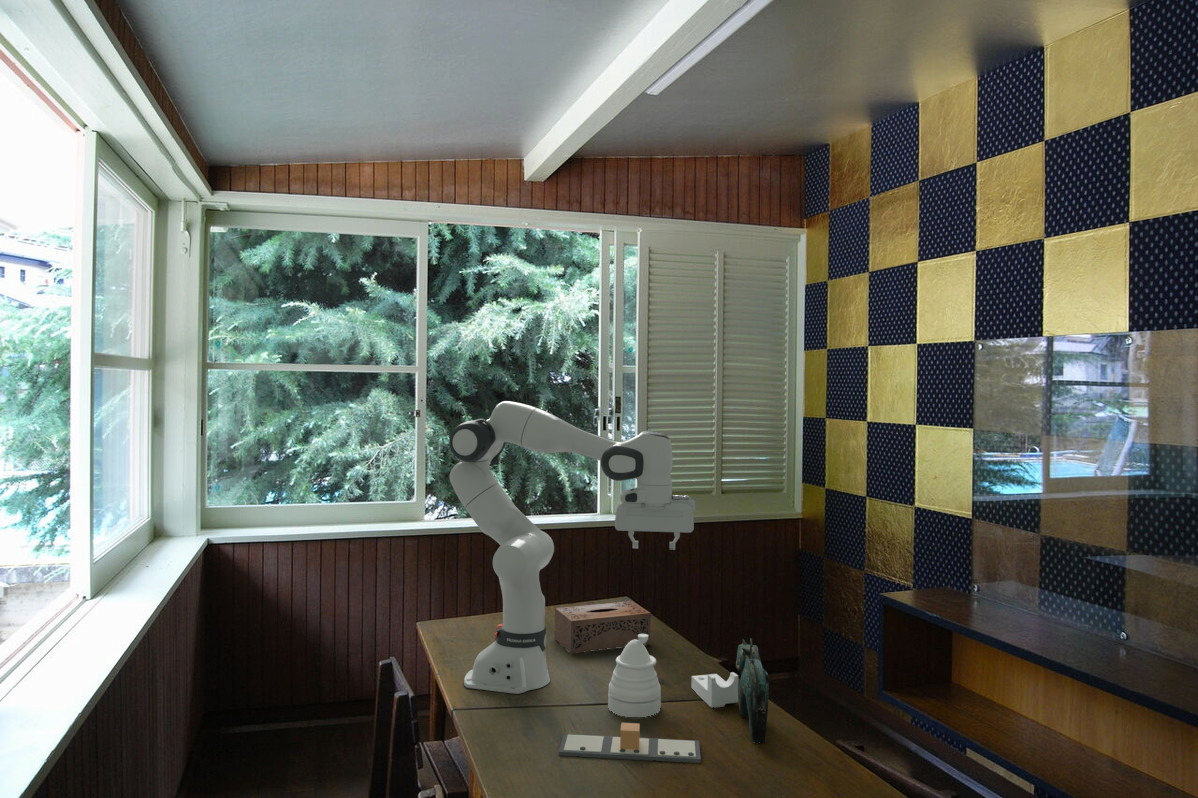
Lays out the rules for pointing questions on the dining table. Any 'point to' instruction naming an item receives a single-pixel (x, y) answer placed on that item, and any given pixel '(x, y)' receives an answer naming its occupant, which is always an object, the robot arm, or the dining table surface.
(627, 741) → the block
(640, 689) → the honey pot
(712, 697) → the bracket
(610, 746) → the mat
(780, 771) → the dining table surface
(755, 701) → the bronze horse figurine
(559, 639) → the tissue box cover
